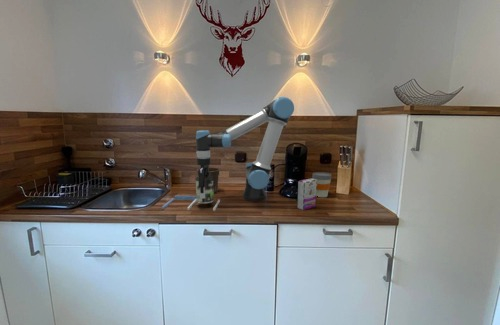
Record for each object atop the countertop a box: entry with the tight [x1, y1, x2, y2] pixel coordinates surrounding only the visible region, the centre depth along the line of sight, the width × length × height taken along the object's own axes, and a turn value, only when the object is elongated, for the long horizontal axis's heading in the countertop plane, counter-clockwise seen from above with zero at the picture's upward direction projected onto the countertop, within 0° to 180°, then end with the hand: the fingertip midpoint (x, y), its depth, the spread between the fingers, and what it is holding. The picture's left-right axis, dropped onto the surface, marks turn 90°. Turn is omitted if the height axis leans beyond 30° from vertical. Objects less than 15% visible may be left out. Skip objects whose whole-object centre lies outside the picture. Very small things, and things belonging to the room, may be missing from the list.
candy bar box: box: [297, 178, 317, 211], centre depth 137 cm, size 11×5×16 cm, turn 126°
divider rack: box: [161, 194, 221, 212], centre depth 140 cm, size 30×18×2 cm, turn 87°
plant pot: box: [196, 167, 221, 194], centre depth 167 cm, size 16×16×16 cm
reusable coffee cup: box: [311, 171, 332, 198], centre depth 161 cm, size 12×13×15 cm
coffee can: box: [194, 175, 215, 204], centre depth 138 cm, size 10×10×14 cm
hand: (205, 195), depth 138 cm, fingers closed on coffee can, 10 cm apart
